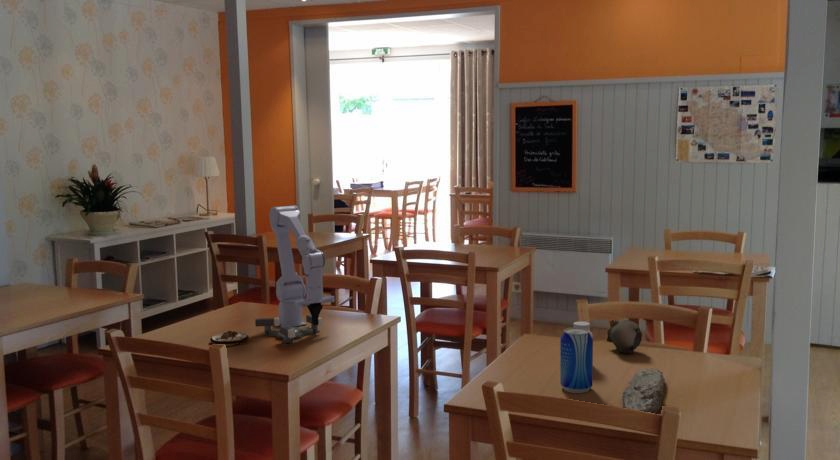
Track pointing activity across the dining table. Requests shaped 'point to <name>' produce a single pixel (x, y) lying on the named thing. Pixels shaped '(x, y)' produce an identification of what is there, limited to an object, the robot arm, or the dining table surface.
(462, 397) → the dining table surface
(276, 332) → the levelling base
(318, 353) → the dining table surface
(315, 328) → the post
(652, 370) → the elongated rock
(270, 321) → the footscrew rear
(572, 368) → the beer can
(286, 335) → the two-tone rectangular bar
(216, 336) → the cream topped cake
